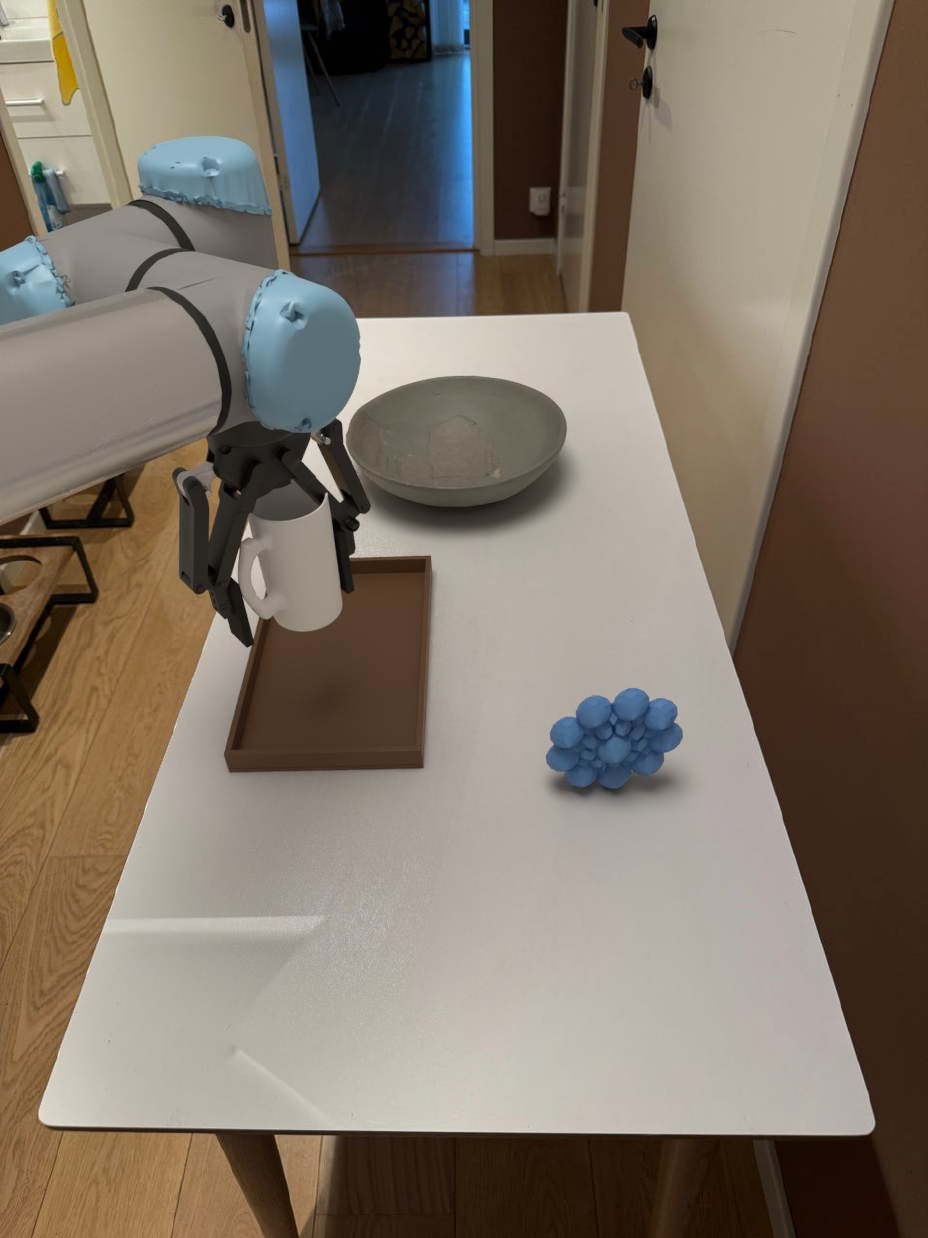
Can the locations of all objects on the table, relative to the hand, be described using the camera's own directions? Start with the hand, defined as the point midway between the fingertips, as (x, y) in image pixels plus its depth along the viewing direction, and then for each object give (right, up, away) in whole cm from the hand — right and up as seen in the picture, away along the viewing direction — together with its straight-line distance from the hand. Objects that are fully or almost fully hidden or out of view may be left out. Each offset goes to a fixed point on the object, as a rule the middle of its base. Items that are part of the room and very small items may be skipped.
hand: (294, 611), depth 81 cm
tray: (+2, -5, +15) cm, 16 cm away
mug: (0, -1, +1) cm, 1 cm away
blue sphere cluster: (+28, -15, +3) cm, 32 cm away
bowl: (+14, +17, +41) cm, 47 cm away
